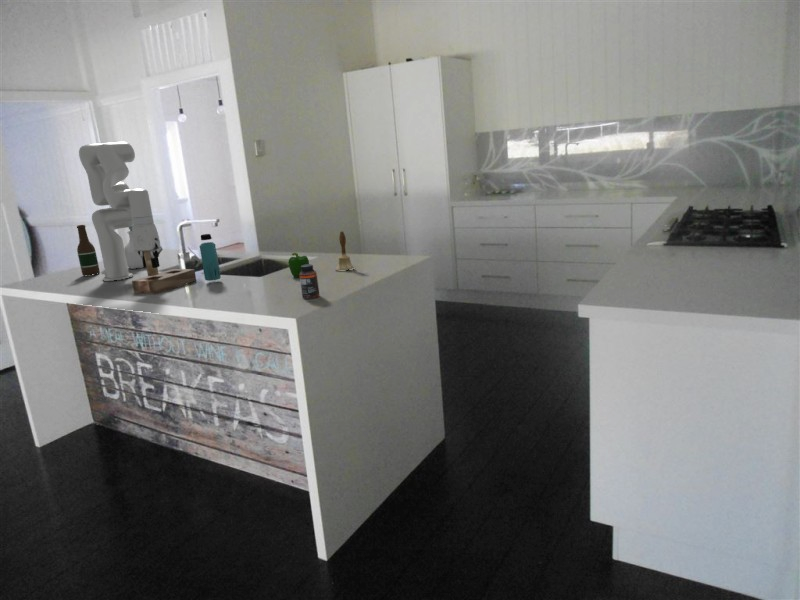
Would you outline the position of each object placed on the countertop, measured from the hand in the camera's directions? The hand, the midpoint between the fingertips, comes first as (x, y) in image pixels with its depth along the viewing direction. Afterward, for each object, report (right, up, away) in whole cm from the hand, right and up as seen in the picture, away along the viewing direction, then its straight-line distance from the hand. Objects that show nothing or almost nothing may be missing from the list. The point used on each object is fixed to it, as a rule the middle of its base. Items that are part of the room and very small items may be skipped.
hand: (151, 266), depth 240 cm
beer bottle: (-50, -1, +50) cm, 71 cm away
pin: (0, -3, +1) cm, 3 cm away
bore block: (+3, -8, +7) cm, 11 cm away
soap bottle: (-31, +3, +60) cm, 68 cm away
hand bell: (+76, -1, +12) cm, 77 cm away
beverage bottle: (+22, -6, +8) cm, 24 cm away
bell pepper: (+58, -4, +7) cm, 58 cm away
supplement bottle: (+68, -12, -31) cm, 76 cm away
